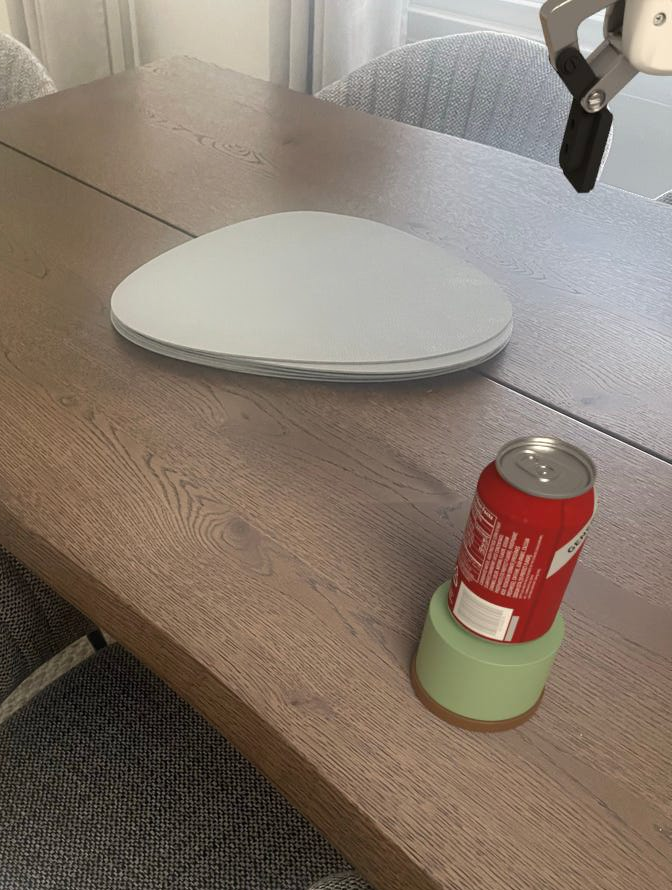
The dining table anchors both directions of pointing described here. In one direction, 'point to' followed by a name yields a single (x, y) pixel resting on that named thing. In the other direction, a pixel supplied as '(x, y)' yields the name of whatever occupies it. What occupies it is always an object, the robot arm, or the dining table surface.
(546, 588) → the soda can
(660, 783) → the dining table surface
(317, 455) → the dining table surface
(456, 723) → the pedestal
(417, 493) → the dining table surface
